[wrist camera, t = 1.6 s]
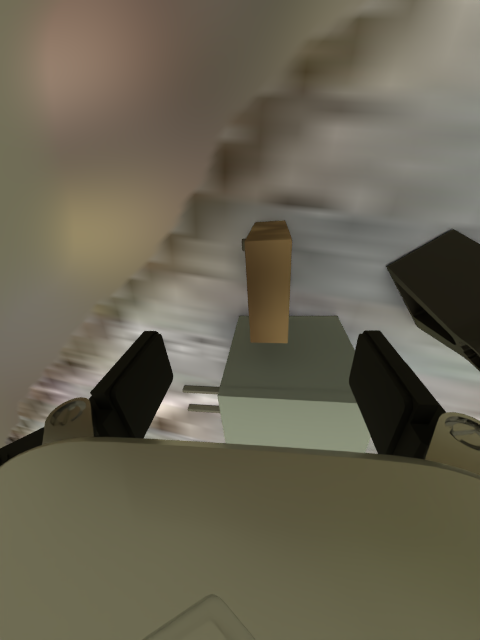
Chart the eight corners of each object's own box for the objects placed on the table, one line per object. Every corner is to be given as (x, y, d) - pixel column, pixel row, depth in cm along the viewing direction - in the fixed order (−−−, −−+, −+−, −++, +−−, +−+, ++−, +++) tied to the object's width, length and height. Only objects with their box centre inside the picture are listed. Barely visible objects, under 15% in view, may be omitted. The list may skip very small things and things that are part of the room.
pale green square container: (337, 316, 27) (382, 404, 16) (321, 414, 36) (342, 514, 25) (166, 316, 30) (103, 389, 19) (190, 406, 39) (157, 492, 28)
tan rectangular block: (284, 220, 23) (291, 239, 14) (283, 293, 27) (287, 343, 18) (247, 222, 23) (232, 242, 15) (251, 294, 27) (240, 342, 19)
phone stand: (385, 265, 24) (472, 324, 13) (451, 228, 21) (620, 265, 11) (416, 326, 26) (506, 412, 16) (477, 299, 24) (628, 381, 14)
